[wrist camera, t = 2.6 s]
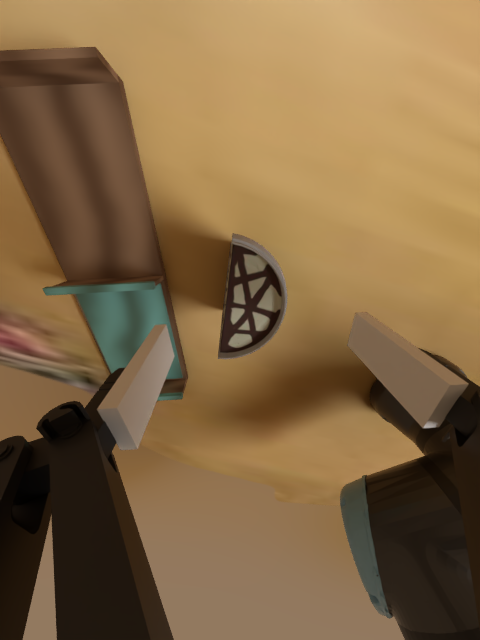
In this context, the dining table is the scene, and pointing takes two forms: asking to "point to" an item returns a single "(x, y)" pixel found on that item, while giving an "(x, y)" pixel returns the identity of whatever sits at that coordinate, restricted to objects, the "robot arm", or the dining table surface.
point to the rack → (90, 196)
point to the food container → (251, 299)
